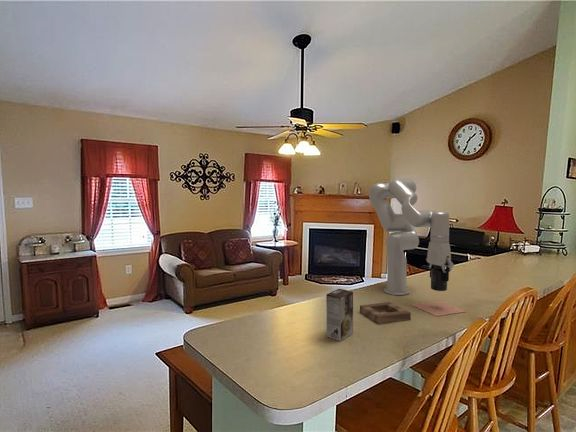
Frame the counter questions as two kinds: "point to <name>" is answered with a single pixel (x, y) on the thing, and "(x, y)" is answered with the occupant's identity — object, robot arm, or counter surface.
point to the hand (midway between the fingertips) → (439, 278)
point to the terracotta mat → (438, 308)
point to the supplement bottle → (437, 279)
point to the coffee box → (339, 314)
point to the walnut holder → (393, 316)
